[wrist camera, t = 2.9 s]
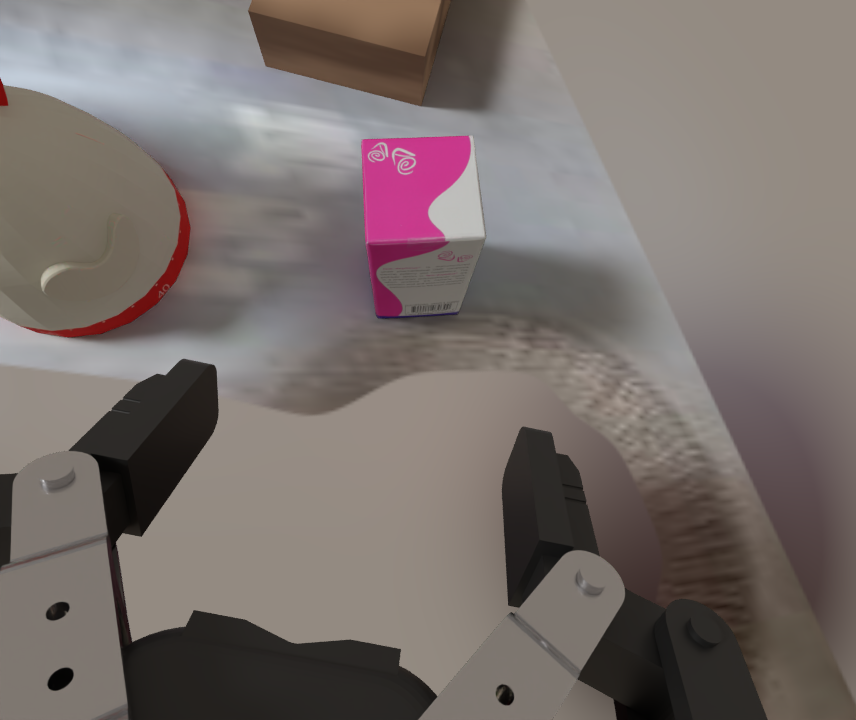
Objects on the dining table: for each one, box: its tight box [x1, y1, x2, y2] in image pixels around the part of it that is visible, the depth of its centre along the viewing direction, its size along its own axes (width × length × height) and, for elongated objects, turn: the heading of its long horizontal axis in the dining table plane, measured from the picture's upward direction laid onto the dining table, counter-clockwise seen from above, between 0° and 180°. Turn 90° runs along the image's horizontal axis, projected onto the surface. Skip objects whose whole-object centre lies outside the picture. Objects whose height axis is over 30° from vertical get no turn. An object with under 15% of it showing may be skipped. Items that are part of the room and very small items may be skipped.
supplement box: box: [361, 136, 486, 318], centre depth 29 cm, size 6×6×12 cm
